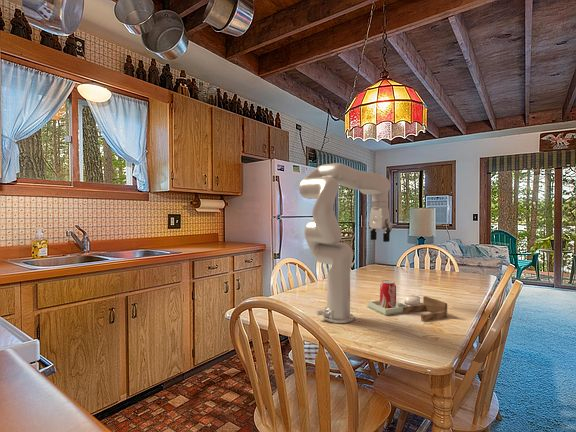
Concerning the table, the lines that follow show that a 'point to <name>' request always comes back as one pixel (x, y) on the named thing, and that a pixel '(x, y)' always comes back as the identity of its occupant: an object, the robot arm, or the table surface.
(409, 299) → the cream rounded knob
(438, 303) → the cradle
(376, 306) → the tray
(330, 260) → the robot arm
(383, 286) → the soda can
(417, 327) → the table surface
